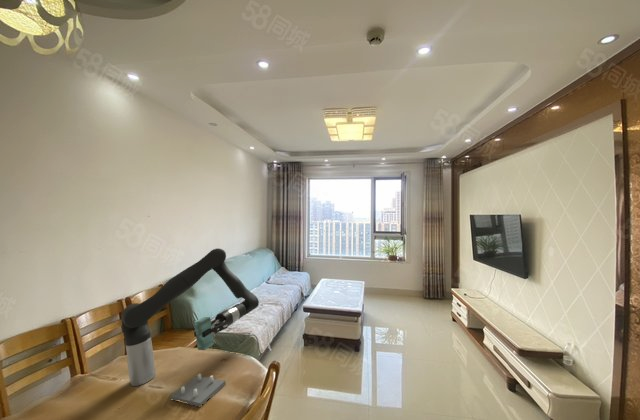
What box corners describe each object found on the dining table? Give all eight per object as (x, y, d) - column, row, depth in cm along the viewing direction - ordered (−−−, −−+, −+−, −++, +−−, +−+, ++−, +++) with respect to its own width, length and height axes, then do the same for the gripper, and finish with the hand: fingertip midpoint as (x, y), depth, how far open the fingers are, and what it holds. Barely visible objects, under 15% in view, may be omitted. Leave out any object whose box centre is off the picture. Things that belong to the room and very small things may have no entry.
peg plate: (170, 400, 95) (168, 389, 96) (196, 379, 107) (195, 369, 107) (200, 407, 89) (199, 396, 89) (225, 384, 100) (224, 374, 100)
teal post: (197, 349, 109) (194, 321, 109) (207, 343, 114) (203, 316, 114) (204, 350, 107) (200, 322, 107) (213, 344, 112) (210, 317, 112)
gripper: (215, 309, 126) (185, 325, 111) (238, 310, 121) (209, 327, 105) (217, 324, 126) (187, 342, 111) (240, 325, 121) (212, 345, 105)
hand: (198, 334), depth 108 cm, fingers closed on teal post, 4 cm apart
